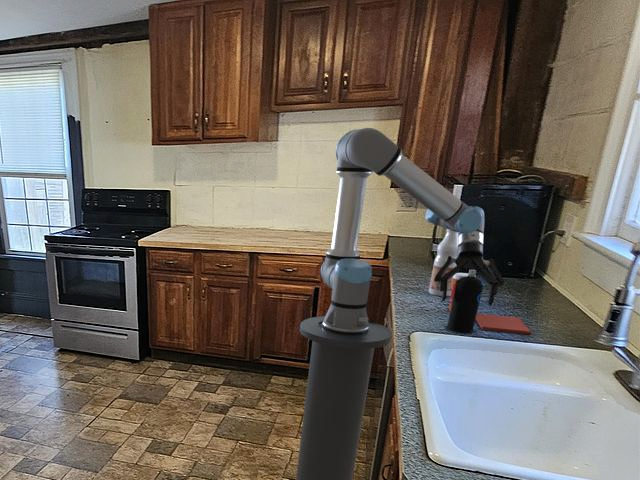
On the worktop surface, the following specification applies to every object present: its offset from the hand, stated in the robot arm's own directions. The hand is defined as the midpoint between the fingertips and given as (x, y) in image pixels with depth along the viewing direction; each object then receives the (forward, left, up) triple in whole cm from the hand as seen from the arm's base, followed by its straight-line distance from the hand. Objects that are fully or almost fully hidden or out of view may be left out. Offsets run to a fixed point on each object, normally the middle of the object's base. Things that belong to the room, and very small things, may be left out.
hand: (467, 300), depth 172 cm
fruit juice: (-1, +56, -10) cm, 56 cm away
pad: (+14, +14, -10) cm, 22 cm away
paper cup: (+2, +27, -10) cm, 29 cm away
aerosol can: (0, +2, -10) cm, 11 cm away
